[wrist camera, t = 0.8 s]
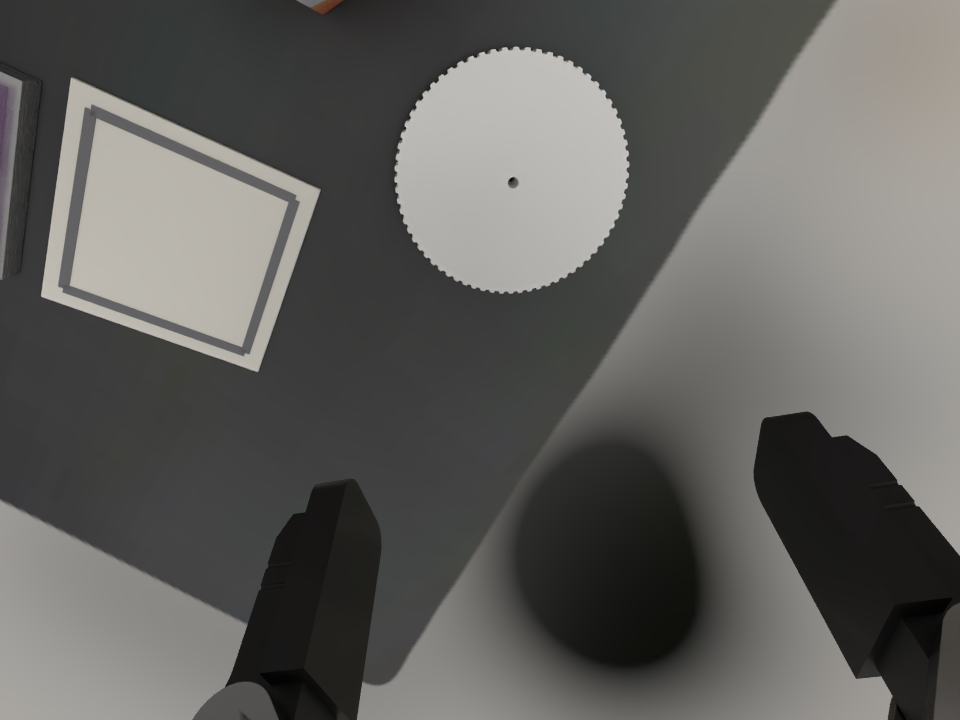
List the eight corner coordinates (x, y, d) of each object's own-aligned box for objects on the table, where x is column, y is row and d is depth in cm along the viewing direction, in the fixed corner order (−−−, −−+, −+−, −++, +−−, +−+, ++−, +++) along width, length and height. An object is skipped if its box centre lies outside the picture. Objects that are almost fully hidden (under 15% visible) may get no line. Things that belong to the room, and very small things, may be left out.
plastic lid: (388, 49, 30) (384, 47, 28) (629, 49, 31) (644, 46, 29) (405, 283, 37) (403, 296, 35) (604, 277, 38) (615, 290, 36)
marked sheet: (43, 294, 35) (40, 297, 35) (74, 77, 30) (69, 77, 29) (259, 370, 39) (257, 372, 38) (321, 189, 33) (320, 190, 33)
